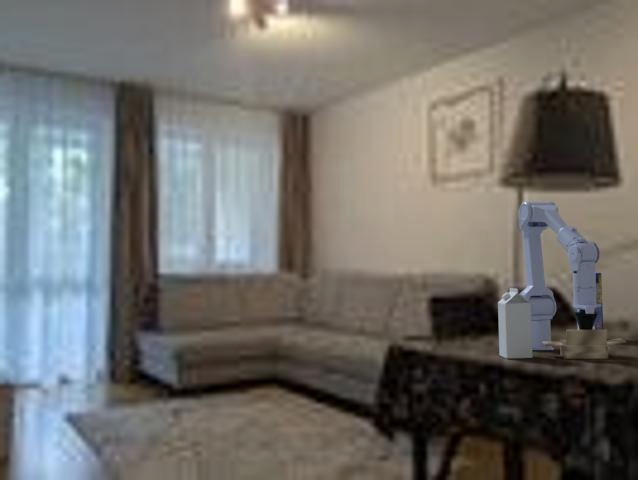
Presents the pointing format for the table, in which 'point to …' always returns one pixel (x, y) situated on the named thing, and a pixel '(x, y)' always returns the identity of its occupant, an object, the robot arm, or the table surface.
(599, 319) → the beverage box
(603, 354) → the carton
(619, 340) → the flap
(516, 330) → the milk carton
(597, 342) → the flap
